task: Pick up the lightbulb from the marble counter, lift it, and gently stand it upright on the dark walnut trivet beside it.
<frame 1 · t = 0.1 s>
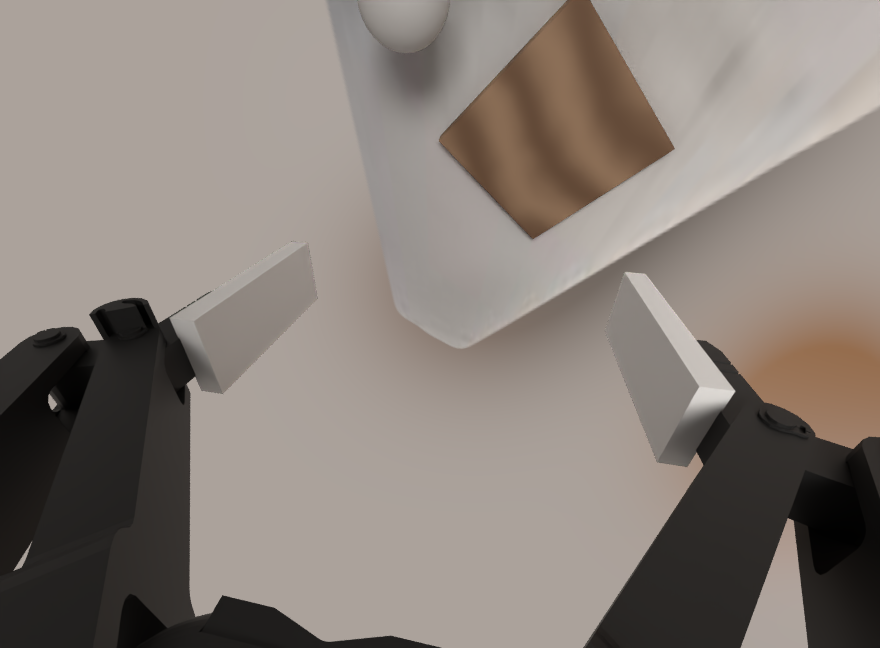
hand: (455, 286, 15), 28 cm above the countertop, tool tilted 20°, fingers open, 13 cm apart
walnut trivet: (551, 139, 36), on the countertop
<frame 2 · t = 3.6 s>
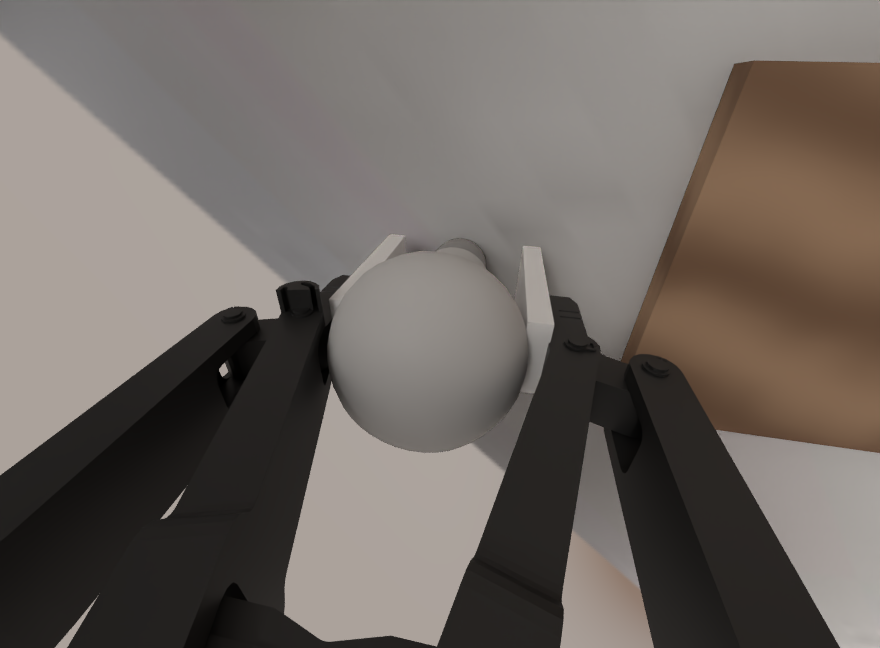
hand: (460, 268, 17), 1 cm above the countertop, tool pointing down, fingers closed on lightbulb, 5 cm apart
walnut trivet: (847, 292, 16), on the countertop
lightbulb: (462, 256, 18), on the countertop, touching gripper
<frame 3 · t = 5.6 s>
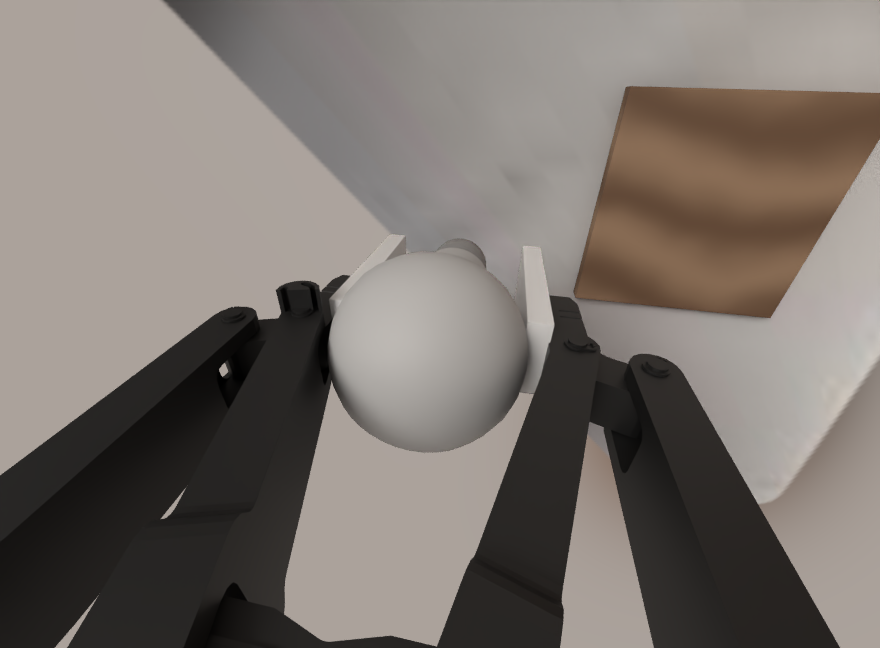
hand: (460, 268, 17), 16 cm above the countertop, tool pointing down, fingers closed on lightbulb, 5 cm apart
walnut trivet: (701, 211, 28), on the countertop
lightbulb: (462, 256, 18), point 15 cm above the countertop, touching gripper
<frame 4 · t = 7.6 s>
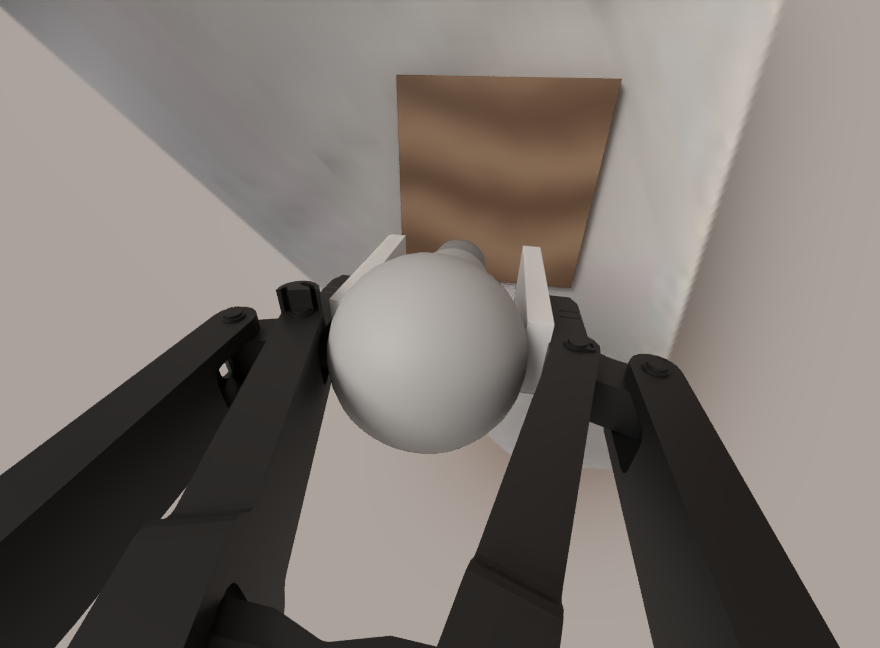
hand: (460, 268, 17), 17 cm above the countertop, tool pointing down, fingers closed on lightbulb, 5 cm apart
walnut trivet: (493, 189, 31), on the countertop
lightbulb: (462, 256, 18), point 16 cm above the countertop, touching gripper
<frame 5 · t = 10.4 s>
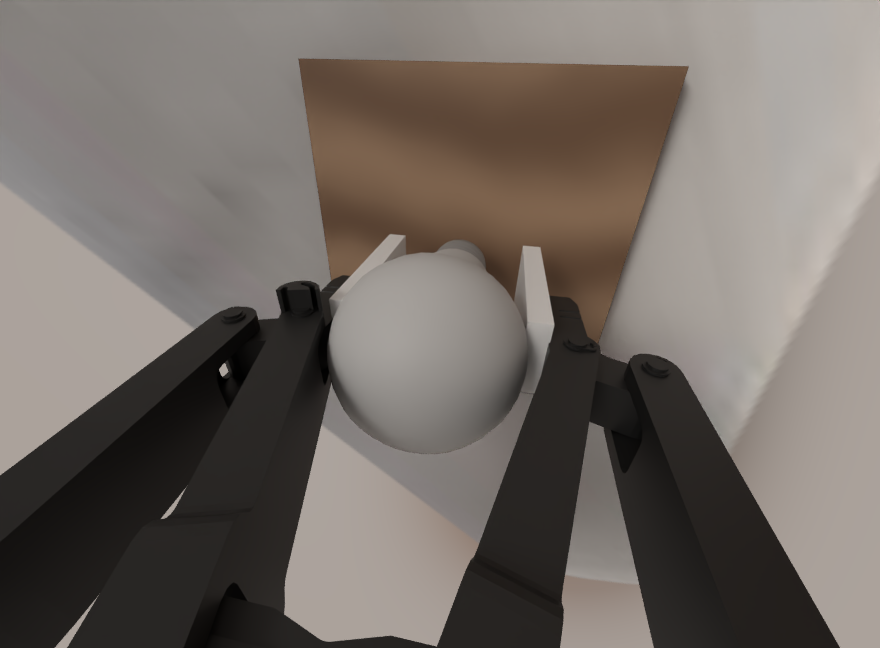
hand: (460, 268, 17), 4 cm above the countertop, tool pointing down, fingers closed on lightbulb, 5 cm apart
walnut trivet: (468, 241, 20), on the countertop
lightbulb: (462, 257, 18), point 2 cm above the countertop, touching gripper
when the fingers open (3 cm above the countertop, at t = 12.0 s): lightbulb stays where it is, resting on walnut trivet.
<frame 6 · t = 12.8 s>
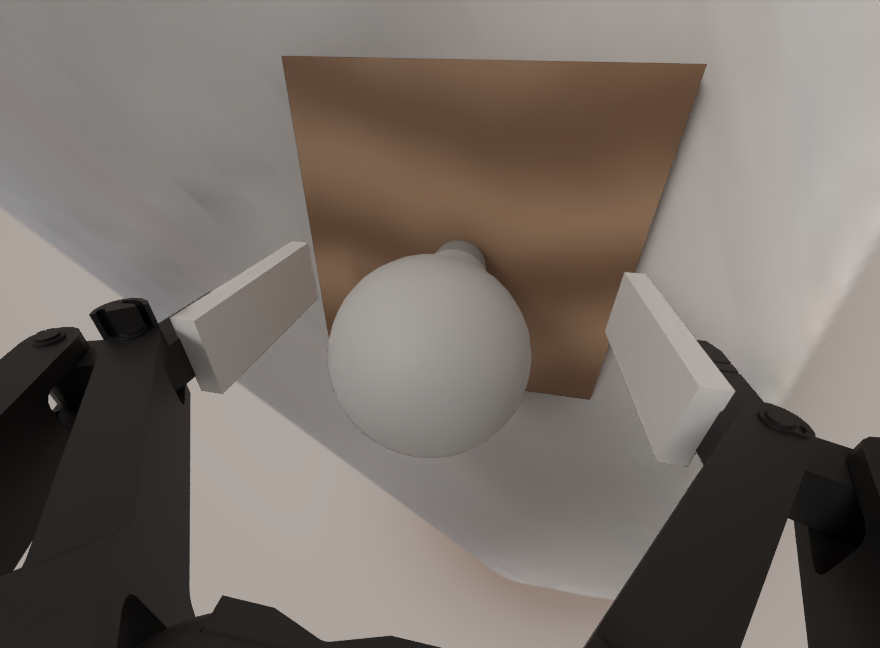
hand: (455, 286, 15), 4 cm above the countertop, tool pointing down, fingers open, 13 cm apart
walnut trivet: (466, 250, 19), on the countertop
lightbulb: (461, 257, 18), point 1 cm above the countertop, touching walnut trivet
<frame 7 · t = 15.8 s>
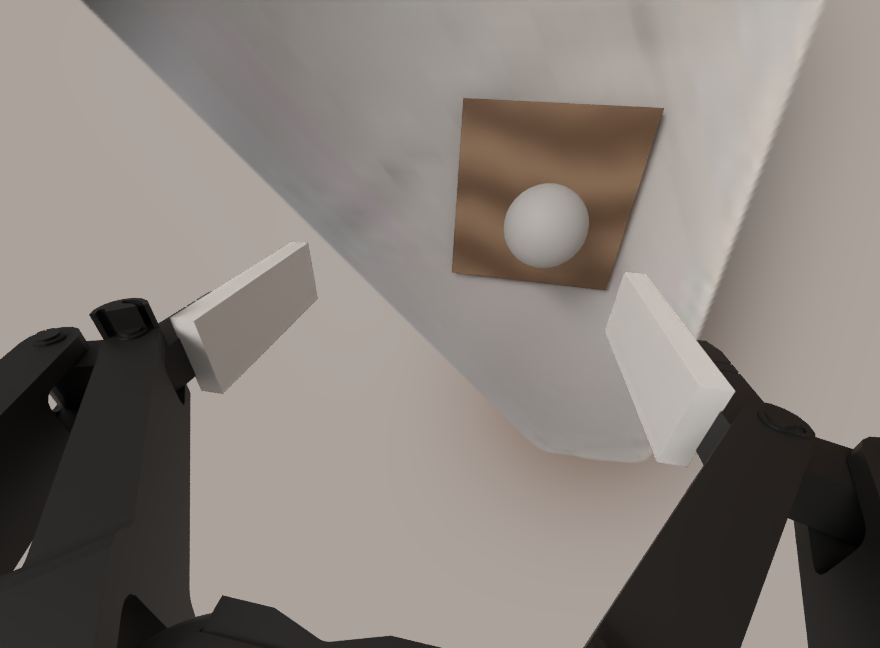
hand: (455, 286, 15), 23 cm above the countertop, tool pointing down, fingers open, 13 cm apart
walnut trivet: (540, 200, 34), on the countertop
lightbulb: (539, 202, 34), point 1 cm above the countertop, touching walnut trivet
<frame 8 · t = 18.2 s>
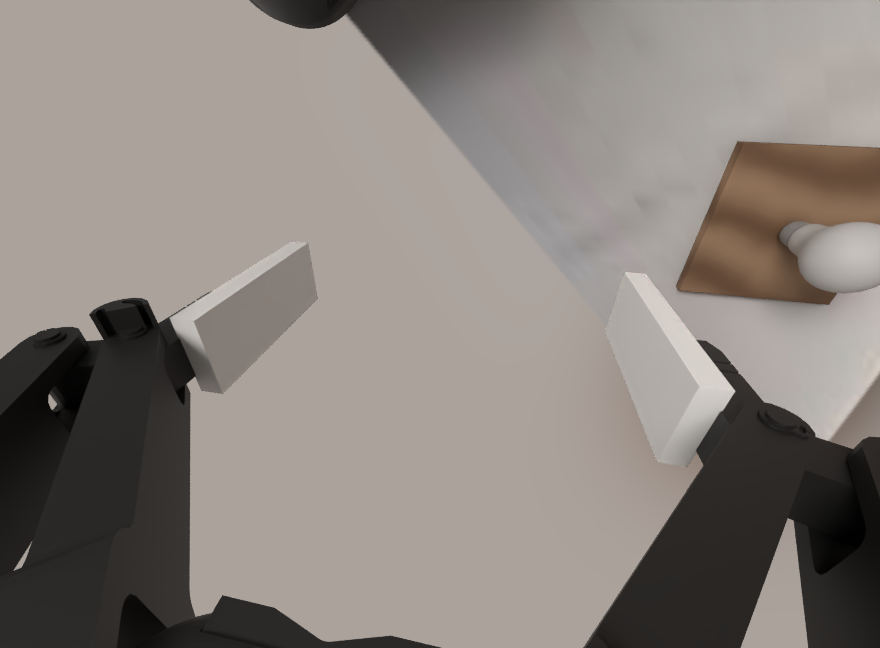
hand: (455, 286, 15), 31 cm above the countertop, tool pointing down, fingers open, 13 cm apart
walnut trivet: (782, 227, 39), on the countertop
lightbulb: (787, 230, 38), point 1 cm above the countertop, touching walnut trivet
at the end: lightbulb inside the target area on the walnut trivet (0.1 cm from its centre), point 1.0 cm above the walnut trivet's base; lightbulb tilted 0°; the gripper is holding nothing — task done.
